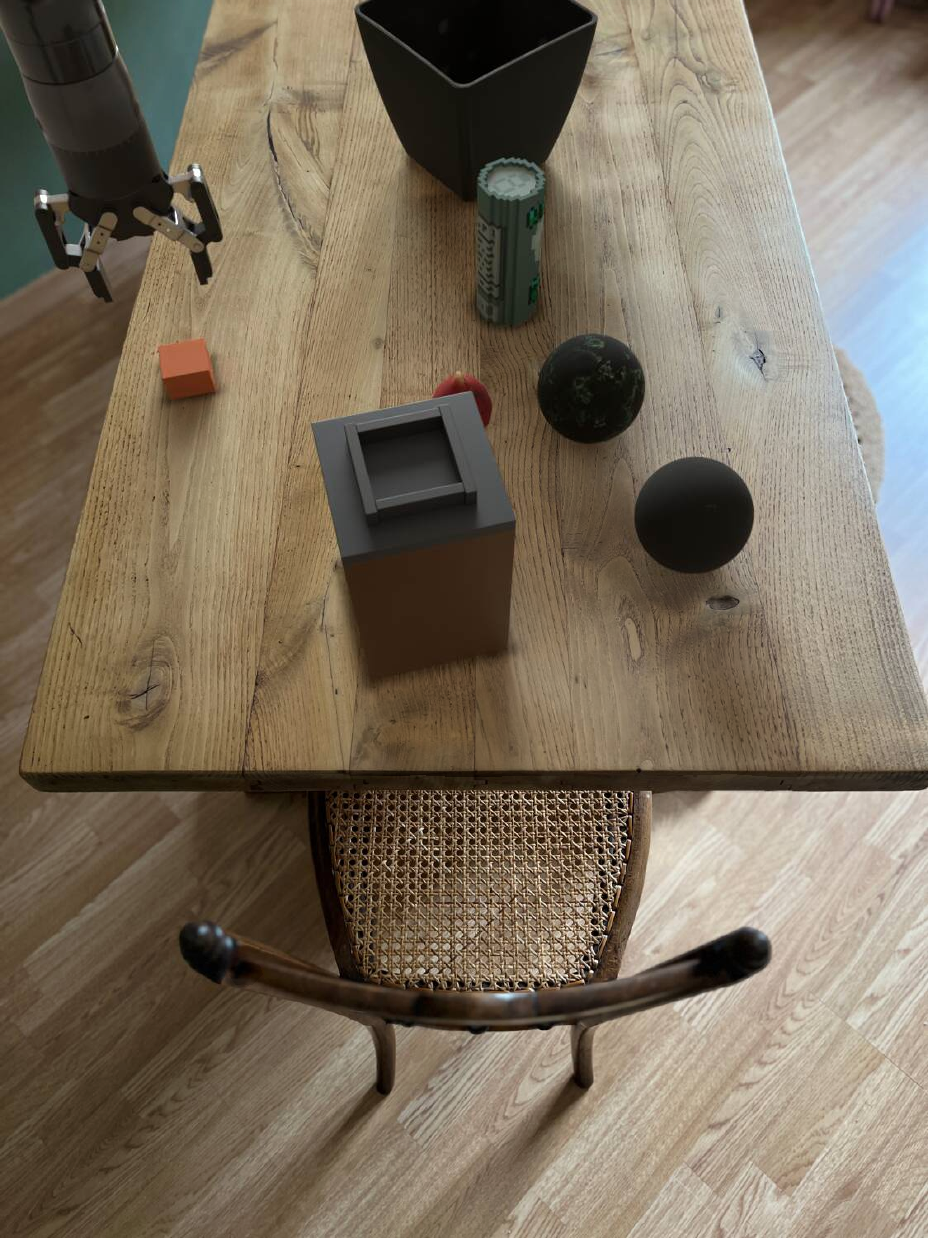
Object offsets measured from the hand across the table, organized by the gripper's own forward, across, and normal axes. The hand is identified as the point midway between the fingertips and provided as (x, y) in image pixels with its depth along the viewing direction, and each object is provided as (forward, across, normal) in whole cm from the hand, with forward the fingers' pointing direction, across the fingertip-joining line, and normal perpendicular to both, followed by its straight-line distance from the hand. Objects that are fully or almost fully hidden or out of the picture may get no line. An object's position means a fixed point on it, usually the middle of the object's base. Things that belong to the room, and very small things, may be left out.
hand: (156, 287), depth 84 cm
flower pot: (+12, -37, -27) cm, 47 cm away
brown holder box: (+12, -17, +32) cm, 38 cm away
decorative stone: (+12, -37, +16) cm, 42 cm away
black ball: (+12, -41, +32) cm, 53 cm away
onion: (+12, -25, +14) cm, 31 cm away
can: (+12, -34, -2) cm, 36 cm away
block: (+12, 0, 0) cm, 12 cm away
